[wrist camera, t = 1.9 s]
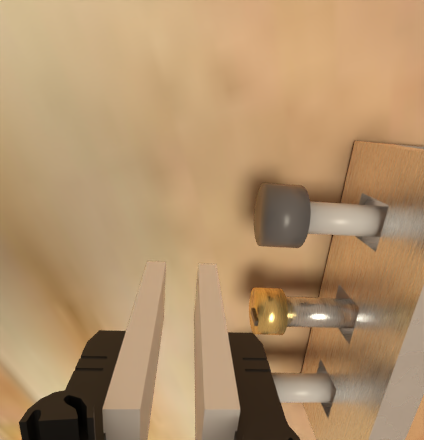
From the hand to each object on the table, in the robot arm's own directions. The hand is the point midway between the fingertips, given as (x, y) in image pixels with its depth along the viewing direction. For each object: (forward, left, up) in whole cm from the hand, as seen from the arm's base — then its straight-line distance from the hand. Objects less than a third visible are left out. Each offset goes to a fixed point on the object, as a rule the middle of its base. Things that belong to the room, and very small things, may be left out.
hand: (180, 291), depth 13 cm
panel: (+19, -9, -16) cm, 27 cm away
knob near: (+11, 0, -14) cm, 18 cm away
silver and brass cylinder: (+12, -9, -13) cm, 20 cm away
